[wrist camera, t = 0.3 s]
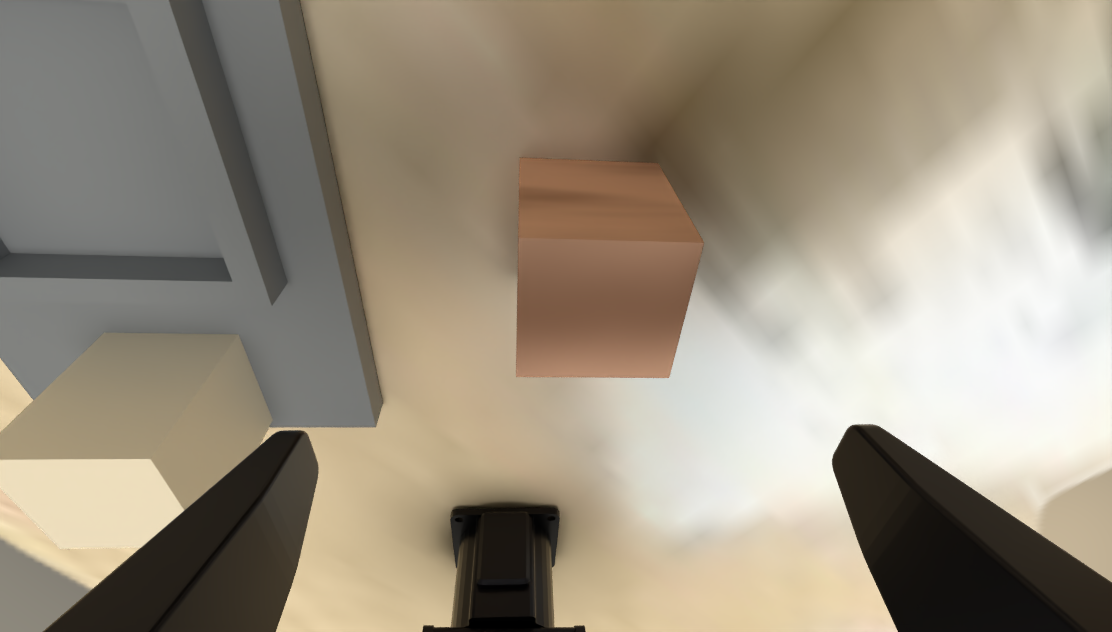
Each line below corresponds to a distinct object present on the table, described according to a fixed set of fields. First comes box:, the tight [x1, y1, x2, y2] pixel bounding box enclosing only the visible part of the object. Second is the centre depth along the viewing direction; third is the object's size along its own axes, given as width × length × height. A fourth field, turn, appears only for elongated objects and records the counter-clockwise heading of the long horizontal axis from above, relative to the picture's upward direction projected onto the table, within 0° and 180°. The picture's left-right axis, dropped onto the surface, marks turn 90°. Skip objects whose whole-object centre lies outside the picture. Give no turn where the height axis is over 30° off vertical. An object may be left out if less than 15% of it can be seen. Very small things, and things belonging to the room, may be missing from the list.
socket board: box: [0, 0, 383, 549], centre depth 16 cm, size 18×14×8 cm
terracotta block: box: [516, 158, 704, 378], centre depth 18 cm, size 5×5×6 cm
